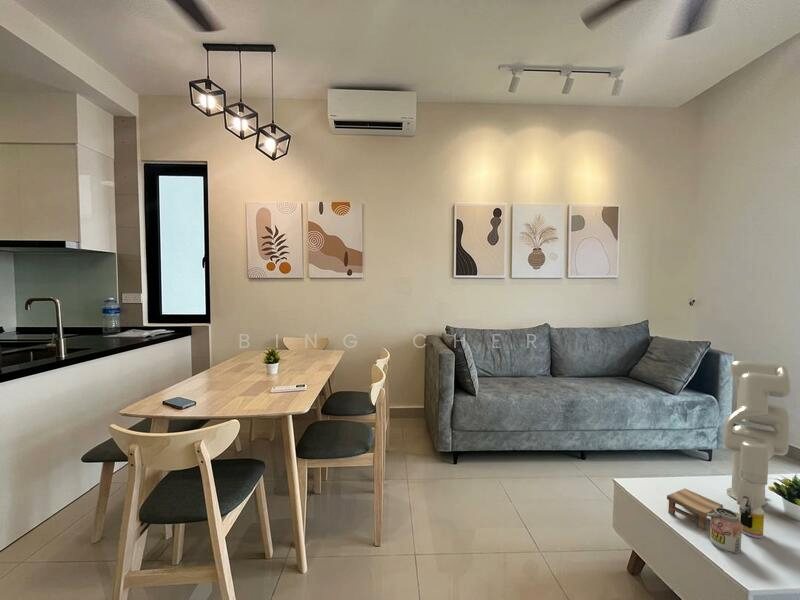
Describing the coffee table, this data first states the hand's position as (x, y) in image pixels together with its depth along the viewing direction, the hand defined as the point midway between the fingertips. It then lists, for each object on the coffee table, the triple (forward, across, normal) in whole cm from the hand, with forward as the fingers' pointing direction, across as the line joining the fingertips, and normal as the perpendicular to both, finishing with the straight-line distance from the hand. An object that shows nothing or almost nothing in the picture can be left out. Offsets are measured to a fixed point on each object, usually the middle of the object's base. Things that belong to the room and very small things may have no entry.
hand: (750, 523), depth 135 cm
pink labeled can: (+4, +18, -1) cm, 18 cm away
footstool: (+4, +9, -14) cm, 17 cm away
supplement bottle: (+4, 0, 0) cm, 4 cm away
